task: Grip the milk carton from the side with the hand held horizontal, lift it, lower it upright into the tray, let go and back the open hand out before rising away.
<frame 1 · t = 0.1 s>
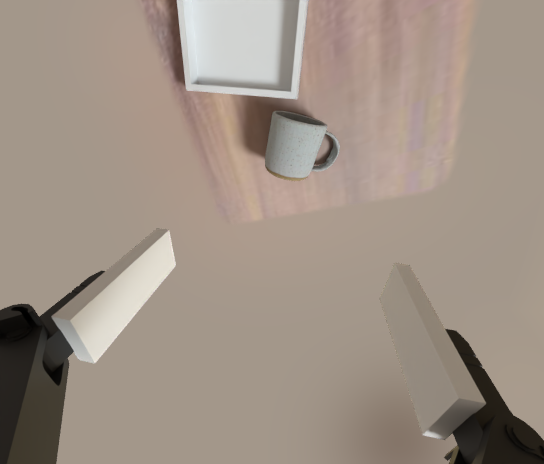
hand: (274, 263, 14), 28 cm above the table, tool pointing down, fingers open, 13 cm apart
ceramic mug: (303, 142, 37), on the table
tray: (246, 25, 30), on the table
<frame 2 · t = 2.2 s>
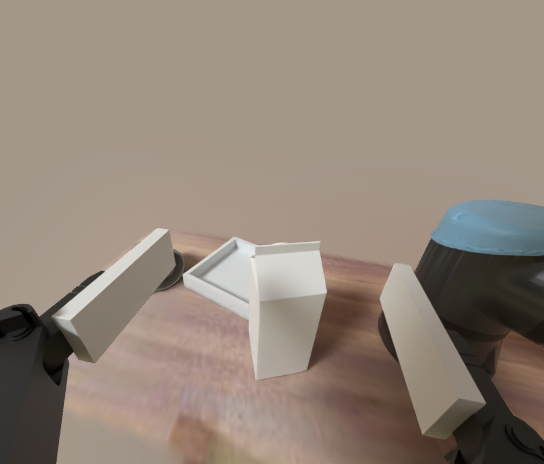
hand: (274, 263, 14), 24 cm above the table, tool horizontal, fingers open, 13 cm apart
ceramic mug: (153, 282, 45), on the table
milk carton: (275, 352, 34), on the table
tray: (242, 278, 47), on the table
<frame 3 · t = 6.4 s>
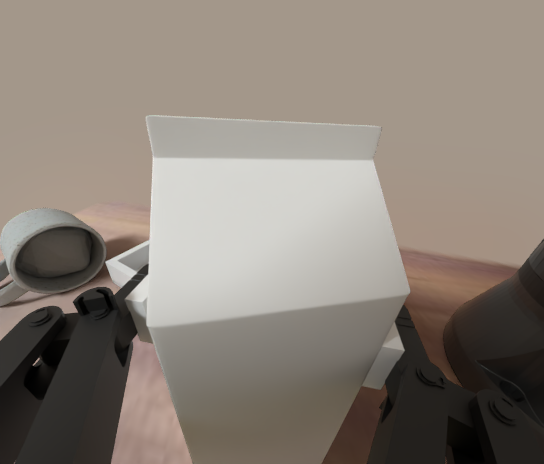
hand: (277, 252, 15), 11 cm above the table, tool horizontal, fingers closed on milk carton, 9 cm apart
ceramic mug: (53, 280, 27), on the table
milk carton: (256, 413, 17), on the table, touching gripper
tray: (212, 269, 29), on the table
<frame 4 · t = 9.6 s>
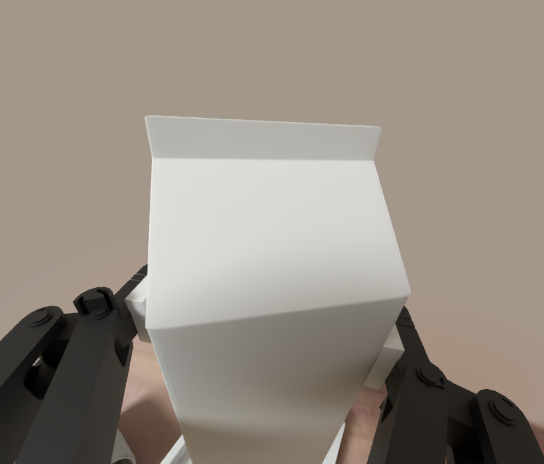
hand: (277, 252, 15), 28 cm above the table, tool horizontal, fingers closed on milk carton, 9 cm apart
milk carton: (256, 414, 17), point 17 cm above the table, touching gripper
tray: (254, 460, 27), on the table
when the fingers open (13 cm above the table, at t = 13.1 s): milk carton drops 1 cm, resting on tray.
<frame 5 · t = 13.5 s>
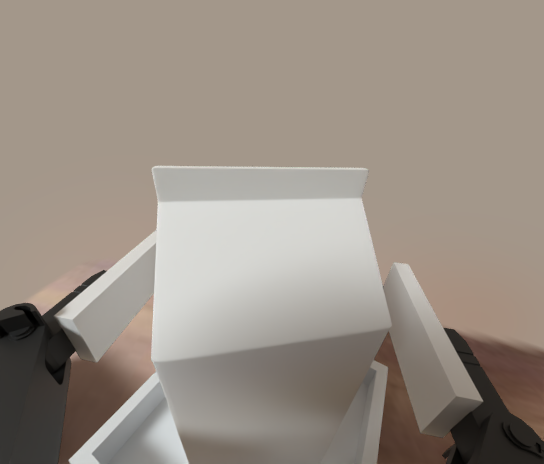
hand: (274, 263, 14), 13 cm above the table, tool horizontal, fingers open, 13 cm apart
milk carton: (254, 422, 17), resting on tray
tray: (256, 423, 18), on the table
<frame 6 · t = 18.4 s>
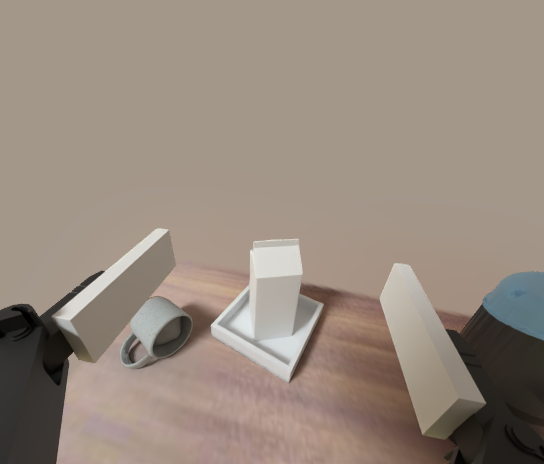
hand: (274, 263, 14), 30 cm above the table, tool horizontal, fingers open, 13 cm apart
ceramic mug: (158, 344, 41), on the table
milk carton: (269, 323, 45), resting on tray
tray: (270, 324, 45), on the table
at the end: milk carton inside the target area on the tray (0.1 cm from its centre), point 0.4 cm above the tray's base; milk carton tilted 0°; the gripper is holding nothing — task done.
